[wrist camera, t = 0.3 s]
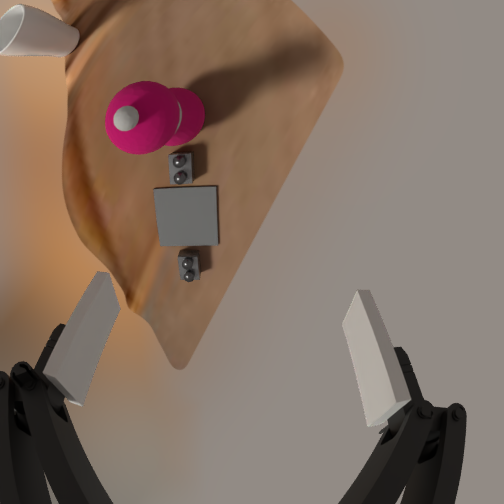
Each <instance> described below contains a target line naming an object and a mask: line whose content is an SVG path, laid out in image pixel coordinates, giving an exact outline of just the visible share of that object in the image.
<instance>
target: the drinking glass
mask: <svg viewBox="0 0 504 504" xmlns="http://www.w3.org/2000/svg"><path fill="white" fill-rule="evenodd" d="M79 38H80V34H79V31H78V29H77V28H75V27H73V26H70V25H68V24H66V23H65V22H63V21H61V20H59V19H57V18H55V17H54V16H52V15H50V14H48V13H46V12H44V11H42V10H40V9H38V8H34V7H31V6H27V5H22V4H18V5H15V6H13V7H12V8H10V9H9V10H8V11H7V12H6V13H5V14H4V15H3V16H2V17H1V19H0V55H5V56H54V57H64V56H66V55H68V54H70V53H71V52H72V51H73V50H74V49H75V47H76V46H77V44H78V42H79Z"/></svg>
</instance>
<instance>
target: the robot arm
mask: <svg viewBox="0 0 504 504" xmlns="http://www.w3.org/2000/svg"><path fill="white" fill-rule="evenodd" d="M119 311H120V306H119V303H118V300H117V297H116V294H115V290H114V287H113V284H112V281H111V277H110V274H109V273H107V272H97V273H96V275H95V276H94V278H93V279H92V281H91V283H90V284H89V286H88V287H87V289H86V291H85V293H84V294H83V296H82V297H81V299H80V301H79V303H78V304H77V306H76V308H75V310H74V312H73V313H72V315H71V317H70V319H69V320H68V322H67V324H66V325H64V324H60V325H58V326H57V327H56V328H55V329H54V331H53V332H52V334H51V336H50V338H49V340H48V342H47V344H46V347H44V349H43V352H42V354H41V356H40V358H39V360H38V362H37V364H36V366H35V368H34V370H33V369H32V367H31V366H30V365H29V364H28V363H27V362H24V361H23V362H18V363H17V364H15V365H14V367H13V368H12V370H11V373H10V377H9V376H8V375H7V374H6V373H5V372H3V371H0V504H52V502H51V500H50V495H49V491H48V488H47V484H46V479H45V475H46V477H47V479H48V482H49V484H50V486H51V488H52V490H53V493H54V495H55V497H56V499H57V501H58V503H59V504H113V502H112V501H111V499H110V498H109V496H108V494H107V493H106V491H105V490H104V488H103V486H102V485H101V483H100V481H99V479H98V477H97V475H96V474H95V472H94V470H93V468H92V466H91V464H90V462H89V460H88V458H87V456H86V454H85V452H84V450H83V448H82V445H81V443H80V441H79V438H78V436H77V434H76V431H75V429H74V426H73V424H72V421H71V419H70V416H69V413H68V410H67V408H66V405H65V403H64V398H65V397H66V398H67V399H68V400H69V401H70V402H71V403H74V404H77V405H80V406H83V404H84V401H85V398H86V395H87V392H88V389H89V386H90V383H91V381H92V378H93V375H94V372H95V370H96V367H97V364H98V362H99V359H100V356H101V354H102V351H103V349H104V346H105V344H106V341H107V339H108V336H109V334H110V332H111V329H112V327H113V325H114V322H115V320H116V318H117V316H118V313H119ZM342 326H343V329H344V333H345V336H346V340H347V343H348V347H349V351H350V355H351V358H352V362H353V366H354V370H355V374H356V378H357V382H358V386H359V390H360V395H361V399H362V403H363V408H364V412H365V417H366V422H367V427H371V426H376V425H381V424H382V423H384V422H385V421H386V420H388V425H387V426H386V427H385V428H383V429H382V430H381V431H380V432H379V434H381V433H383V434H382V436H381V438H380V440H379V442H378V444H377V445H376V447H375V449H374V451H373V452H372V454H371V456H370V458H369V459H368V461H367V462H366V464H365V466H364V468H363V469H362V470H361V472H360V473H359V475H358V477H357V478H356V480H355V481H354V483H353V484H352V485H351V487H350V488H349V490H348V491H347V492H346V494H345V495H344V497H343V498H342V499H341V501H340V502H339V503H338V504H395V503H396V502H397V500H398V498H399V496H400V494H401V493H402V491H403V489H404V487H405V486H406V487H405V491H404V494H403V497H402V501H401V503H400V504H455V499H456V495H457V490H458V486H459V481H460V476H461V470H462V463H463V456H464V455H463V454H464V446H465V436H466V417H467V416H466V411H465V408H464V407H463V406H462V405H461V404H459V403H454V404H452V405H450V406H449V407H448V408H441V407H434V406H433V405H432V404H431V403H430V402H429V401H426V400H424V398H423V396H422V393H421V390H420V387H419V385H418V382H417V379H416V376H415V374H414V372H413V368H412V365H410V364H411V363H410V360H409V358H408V355H407V354H406V352H405V351H404V350H403V349H402V347H393V345H392V343H391V340H390V337H389V335H388V332H387V330H386V328H385V325H384V323H383V320H382V318H381V316H380V313H379V311H378V308H377V306H376V304H375V301H374V299H373V297H372V295H371V292H370V290H357V292H356V294H355V296H354V298H353V301H352V303H351V305H350V307H349V310H348V312H347V314H346V316H345V319H344V321H343V323H342ZM44 472H45V475H44Z"/></svg>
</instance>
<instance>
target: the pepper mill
mask: <svg viewBox="0 0 504 504" xmlns="http://www.w3.org/2000/svg"><path fill="white" fill-rule="evenodd" d="M204 120H205V109H204V106H203V103H202V101H201V100H200V98H199V97H198V96H197V95H196V94H195V93H193V92H192V91H190V90H187V89H184V88H169V89H168V88H167V87H166V86H163V85H161V84H159V83H157V82H151V81H141V82H136V83H133V84H130V85H128V86H126V87H125V88H123V89H122V90H121V91H119V92H118V93H117V94H116V95H115V96H114V98H113V99H112V101H111V102H110V104H109V106H108V109H107V112H106V118H105V126H106V132H107V134H108V136H109V139H110V140H111V141H112V142H113V143H114V145H115V146H116V147H118V148H119V149H121V150H123V151H125V152H127V153H131V154H147V153H150V152H154V151H156V150H158V149H159V148H161V147H162V146H164V145H167V146H176V145H181V144H184V143H187V142H189V141H190V140H192V139H193V138H194V137H195V136H196V135H197V134H198V133H199V132H200V130H201V128H202V126H203V124H204Z"/></svg>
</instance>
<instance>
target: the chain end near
mask: <svg viewBox="0 0 504 504" xmlns="http://www.w3.org/2000/svg"><path fill="white" fill-rule="evenodd" d="M168 157H169V174H170V184H179V185H180V184H188V183H193V181H194V154H193V152H178V153H171V154H169V155H168Z"/></svg>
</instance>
